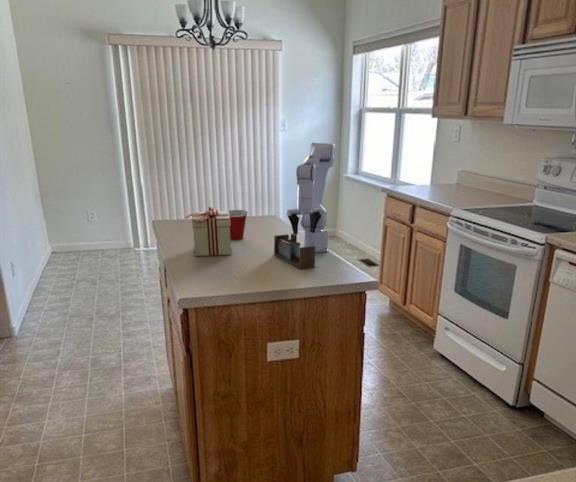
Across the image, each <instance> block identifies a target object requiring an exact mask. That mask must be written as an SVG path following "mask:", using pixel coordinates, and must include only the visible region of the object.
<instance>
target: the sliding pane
mask: <svg viewBox="0 0 576 482" xmlns="http://www.w3.org/2000/svg"><path fill="white" fill-rule="evenodd" d="M297 236H298V234H293V232H292V233H290V237H289V238H287V240H288V242H289V243H291V256H293V257H295V258H297V259H299V258H300V248H301V243H300V242H298V241H297Z"/></svg>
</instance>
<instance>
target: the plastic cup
mask: <svg viewBox="0 0 576 482" xmlns="http://www.w3.org/2000/svg"><path fill="white" fill-rule="evenodd" d="M227 211H228V212H229V216H230V240H233V241H240V240H243V239H244V235H245V230H246V229H245V228H246V223H247V222H246V221H247V217H248V214H249V211H247V210H244V209H230V210H227Z"/></svg>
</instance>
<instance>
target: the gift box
mask: <svg viewBox="0 0 576 482" xmlns="http://www.w3.org/2000/svg"><path fill="white" fill-rule="evenodd" d="M228 211H229V210H222V211H221V210H220V211H218V209H216V208H213V207H211V206H208V210H206V211H193V212H192V213H189V214H188V215H186V216H185V217H184V219H188V218H190V217H191V216H192V217H191V225H192V229H193V244H194V257H207V256H208V257H209V256H210V257H211V256H231V255H232V245H231V239H230V216H229V212H228Z"/></svg>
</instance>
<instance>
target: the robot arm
mask: <svg viewBox="0 0 576 482" xmlns="http://www.w3.org/2000/svg"><path fill="white" fill-rule="evenodd" d="M335 156H336V145H335V144H334V143H323V142H320V143H319V142H311V143H310V145H309V148H308V155H307V157H305V159H304V160H303V162H302V163H301V164H300V163H299V165H297V167H296V172H295V173H296V175H295V177H296V185H297V203H296V204H297V208H293V209H286V216H287V218H288V220H289V222H290V225H291V229H292V233H293V234H296V235H298V232H299V222H300V226H301V228H302V229H303V231H304V232H303V233H304V234H303V235H304V237H303V247H309V246H315V253H322V252H329V249H328V245H329V243H328V242H329V233H328V231H327V229H326V226H327V222H328V221H327V220H328V219H327V217H328V212H327V210H326V209H325V208H324V207H323V199H324V195H325V188H326V181H327V177H328V172H329V169H330V168H332V167H333V166H334V163H335V158H336V157H335ZM299 216H300V217H299Z"/></svg>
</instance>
